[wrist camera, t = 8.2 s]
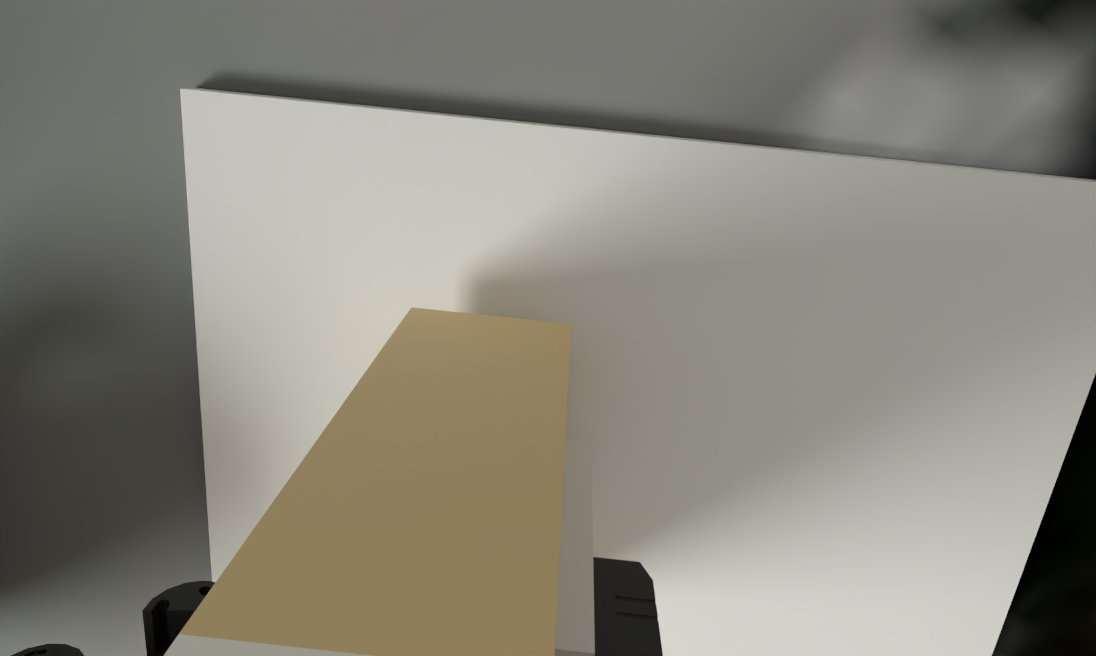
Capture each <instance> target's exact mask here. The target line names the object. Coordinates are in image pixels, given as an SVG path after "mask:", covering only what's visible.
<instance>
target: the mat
mask: <svg viewBox="0 0 1096 656" xmlns="http://www.w3.org/2000/svg"><path fill="white" fill-rule="evenodd" d="M180 95H181V110H182V126H183V141H184V157H185V172H186V187H187V203H188V218H189V234H190V249H191V265H192V280H193V295H194V311H195V326H196V342H197V357H198V373H199V388H200V403H201V419H202V434H203V450H204V465H205V481H206V496H207V511H208V527H209V542H210V558H211V573H212V582H216V581H217V580H218V578H219V577H220V575H221V574H222V573H223V571H224V570H225V568H226V567H227V566H228V564H229V563H230V561H231V560H232V559H233V557H234V556H235V554H236V553H237V552H238V550H239V549H240V547H241V546H242V545H243V543H244V542H245V540H246V539H247V537H248V536H249V535H250V533H251V532H252V530H253V529H254V528H255V526H256V525H257V523H258V522H259V521H260V519H261V518H262V516H263V515H264V514H265V512H266V511H267V509H268V508H269V507H270V505H271V504H272V502H273V501H274V500H275V498H276V497H277V495H278V494H279V493H280V491H281V490H282V488H283V487H284V485H285V484H286V483H287V481H288V480H289V478H290V477H291V476H292V474H293V473H294V471H295V470H296V469H297V467H298V466H299V464H300V463H301V462H302V460H303V459H304V457H305V456H306V455H307V453H308V452H309V450H310V449H311V448H312V446H313V445H314V443H315V442H316V441H317V439H318V438H319V436H320V435H321V433H322V432H323V431H324V429H325V428H326V426H327V425H328V424H329V422H330V421H331V419H332V418H333V417H334V415H335V414H336V412H337V411H338V410H339V408H340V407H341V405H342V404H343V403H344V401H345V400H346V398H347V397H348V396H349V394H350V393H351V391H352V390H353V389H354V387H355V386H356V384H357V383H358V381H359V380H360V379H361V377H362V376H363V374H364V373H365V372H366V370H367V369H368V367H369V366H370V365H371V363H372V362H373V360H374V359H375V358H376V356H377V355H378V353H379V352H380V351H381V349H382V348H383V346H384V345H385V344H386V342H387V341H388V339H389V338H390V337H391V335H392V334H393V332H394V331H395V329H396V328H397V327H398V325H399V324H400V322H401V321H402V320H403V318H404V317H405V315H406V314H407V313H408V311H409V310H410V308H411V307H414V308H423V309H433V310H442V311H452V312H461V313H471V314H481V315H490V316H500V317H509V318H519V319H528V320H538V321H547V322H557V323H566V324H571V334H570V354H569V374H568V394H567V414H566V434H565V438H569V439H578V440H588V441H591V459H592V516H593V557H599V558H608V559H617V560H627V561H636V562H640V563H641V564H642V566H643V567H644V568H645V570H646V571H647V573H648V574H649V576H650V577H651V578H652V580H653V585H654V592H655V600H656V601H655V604H656V607H657V615H658V622H659V630H660V638H661V645H662V653H663V656H992V653H993V651H994V648H995V645H996V643H997V640H998V637H999V634H1000V632H1001V629H1002V626H1003V624H1004V621H1005V618H1006V615H1007V613H1008V610H1009V607H1010V605H1011V602H1012V599H1013V596H1014V594H1015V591H1016V588H1017V586H1018V583H1019V580H1020V577H1021V575H1022V572H1023V569H1024V566H1025V564H1026V561H1027V558H1028V556H1029V553H1030V550H1031V547H1032V545H1033V542H1034V539H1035V537H1036V534H1037V531H1038V528H1039V526H1040V523H1041V520H1042V518H1043V515H1044V512H1045V509H1046V507H1047V504H1048V501H1049V499H1050V496H1051V493H1052V490H1053V488H1054V485H1055V482H1056V480H1057V477H1058V474H1059V471H1060V469H1061V466H1062V463H1063V461H1064V458H1065V455H1066V452H1067V450H1068V447H1069V444H1070V441H1071V439H1072V436H1073V433H1074V431H1075V428H1076V425H1077V422H1078V420H1079V417H1080V414H1081V412H1082V409H1083V406H1084V403H1085V401H1086V398H1087V395H1088V393H1089V390H1090V387H1091V384H1092V382H1093V379H1094V376H1095V374H1096V180H1092V179H1082V178H1073V177H1063V176H1053V175H1043V174H1033V173H1024V172H1014V171H1004V170H994V169H984V168H975V167H965V166H955V165H945V164H936V163H926V162H916V161H906V160H896V159H887V158H877V157H867V156H857V155H847V154H838V153H828V152H818V151H808V150H799V149H789V148H779V147H769V146H759V145H750V144H740V143H730V142H720V141H710V140H701V139H691V138H681V137H671V136H661V135H652V134H642V133H632V132H622V131H613V130H603V129H593V128H583V127H573V126H564V125H554V124H544V123H534V122H524V121H515V120H505V119H495V118H485V117H475V116H466V115H456V114H446V113H436V112H427V111H417V110H407V109H397V108H387V107H378V106H368V105H358V104H348V103H338V102H329V101H319V100H309V99H299V98H289V97H280V96H270V95H260V94H250V93H241V92H231V91H221V90H211V89H201V88H181V89H180Z"/></svg>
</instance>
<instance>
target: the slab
mask: <svg viewBox="0 0 1096 656" xmlns="http://www.w3.org/2000/svg"><path fill="white" fill-rule="evenodd" d="M570 334H571V324H566V323H557V322H547V321H538V320H528V319H519V318H509V317H500V316H490V315H481V314H471V313H461V312H452V311H442V310H433V309H423V308H414V307H411V308H410V310H409V311H408V313H407V314H406V315H405V317H404V318H403V320H402V321H401V322H400V324H399V325H398V327H397V328H396V329H395V331H394V332H393V334H392V335H391V337H390V338H389V339H388V341H387V342H386V344H385V345H384V346H383V348H382V349H381V351H380V352H379V353H378V355H377V356H376V358H375V359H374V360H373V362H372V363H371V365H370V366H369V367H368V369H367V370H366V372H365V373H364V374H363V376H362V377H361V379H360V380H359V381H358V383H357V384H356V386H355V387H354V389H353V390H352V391H351V393H350V394H349V396H348V397H347V398H346V400H345V401H344V403H343V404H342V405H341V407H340V408H339V410H338V411H337V412H336V414H335V415H334V417H333V418H332V419H331V421H330V422H329V424H328V425H327V426H326V428H325V429H324V431H323V432H322V433H321V435H320V436H319V438H318V439H317V441H316V442H315V443H314V445H313V446H312V448H311V449H310V450H309V452H308V453H307V455H306V456H305V457H304V459H303V460H302V462H301V463H300V464H299V466H298V467H297V469H296V470H295V471H294V473H293V474H292V476H291V477H290V478H289V480H288V481H287V483H286V484H285V485H284V487H283V488H282V490H281V491H280V493H279V494H278V495H277V497H276V498H275V500H274V501H273V502H272V504H271V505H270V507H269V508H268V509H267V511H266V512H265V514H264V515H263V516H262V518H261V519H260V521H259V522H258V523H257V525H256V526H255V528H254V529H253V530H252V532H251V533H250V535H249V536H248V537H247V539H246V540H245V542H244V543H243V545H242V546H241V547H240V549H239V550H238V552H237V553H236V554H235V556H234V557H233V559H232V560H231V561H230V563H229V564H228V566H227V567H226V568H225V570H224V571H223V573H222V574H221V575H220V577H219V578H218V580H217V581H216V582H215V584H214V585H213V587H212V588H211V589H210V591H209V592H208V594H207V595H206V596H205V598H204V599H203V601H202V602H201V604H200V605H199V606H198V608H197V609H196V611H195V612H194V613H193V615H192V616H191V618H190V619H189V620H188V622H187V623H186V625H185V626H184V627H183V629H182V630H181V632H180V633H179V634H178V636H177V637H176V639H175V640H174V641H173V643H172V644H171V646H170V647H169V648H168V650H167V651H166V653H165V654H164V656H554V654H555V634H556V614H557V594H558V574H559V554H560V534H561V514H562V494H563V474H564V454H565V434H566V414H567V394H568V374H569V354H570Z"/></svg>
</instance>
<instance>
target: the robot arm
mask: <svg viewBox="0 0 1096 656" xmlns="http://www.w3.org/2000/svg"><path fill="white" fill-rule="evenodd" d="M214 584H215V582H210V581H198V582H190V583H184V584H181V585H178V586H175V587H173V588H170V589H167V590H166V591H164V592H162V593H161V594H159V595H158V596H156V597H155V598H153V599H152V600H151V601H150V602H149V604H148V605H147V606H146V607H145V608H144V610H143V620H144V630H145V639H146V649H147V656H164V654H165V653H166V651H167V650H168V648H169V647H170V646H171V644H172V643H173V641H174V640H175V639H176V637H177V636H178V634H179V633H180V632H181V630H182V629H183V627H184V626H185V625H186V623H187V622H188V620H189V619H190V618H191V616H192V615H193V613H194V612H195V611H196V609H197V608H198V606H199V605H200V604H201V602H202V601H203V599H204V598H205V596H206V595H207V594H208V592H209V591H210V589H211V588H212V587H213V585H214ZM655 601H656V600H655V592H654V585H653V580H652V578H651V577H650V576H649V574H648V573H647V571H646V570H645V568H644V567H643V566H642V564H641V563H640V562H636V561H627V560H617V559H608V558H599V557H593V516H592V459H591V441H588V440H578V439H569V438H565V454H564V474H563V494H562V514H561V534H560V554H559V574H558V594H557V614H556V634H555V654H554V656H663V653H662V645H661V638H660V630H659V622H658V615H657V607H656V604H655ZM11 656H84V655H83V654H82V652H81V651H80V650H79V649H77V648H75V647H72V646H69V645H66V644H45V645H41V646H36V647H32V648H28V649H25V650H23V651H20V652H18V653H16V654H14V655H11Z"/></svg>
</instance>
